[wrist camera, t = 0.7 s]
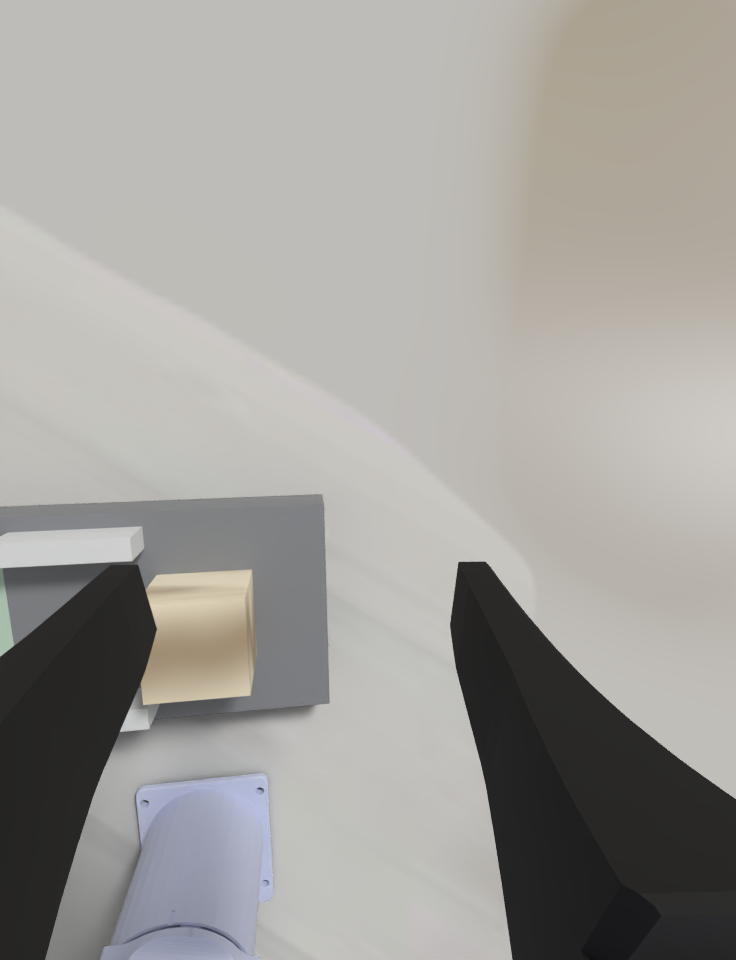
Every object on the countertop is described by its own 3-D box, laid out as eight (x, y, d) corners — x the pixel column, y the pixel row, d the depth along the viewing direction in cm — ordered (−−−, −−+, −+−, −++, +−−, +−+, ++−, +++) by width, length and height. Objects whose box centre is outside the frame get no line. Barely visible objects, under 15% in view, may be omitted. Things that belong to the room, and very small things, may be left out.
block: (256, 653, 29) (250, 695, 25) (164, 660, 28) (143, 704, 24) (252, 569, 28) (244, 599, 24) (156, 575, 27) (133, 606, 24)
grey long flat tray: (327, 679, 33) (331, 725, 28) (-170, 721, 29) (-253, 781, 25) (321, 494, 30) (325, 513, 26) (-217, 515, 27) (-318, 541, 22)
